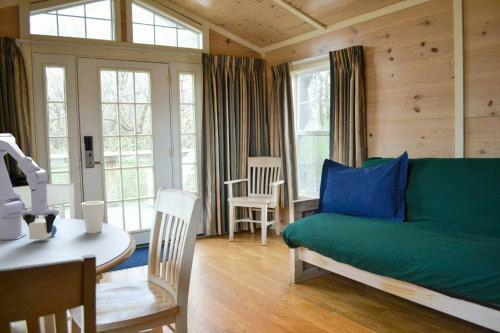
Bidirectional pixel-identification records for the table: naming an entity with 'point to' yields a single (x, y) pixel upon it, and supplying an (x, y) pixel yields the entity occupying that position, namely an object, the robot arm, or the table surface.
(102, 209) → the foam cup
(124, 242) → the table surface
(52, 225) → the ball
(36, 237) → the white cubic block
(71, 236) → the table surface
